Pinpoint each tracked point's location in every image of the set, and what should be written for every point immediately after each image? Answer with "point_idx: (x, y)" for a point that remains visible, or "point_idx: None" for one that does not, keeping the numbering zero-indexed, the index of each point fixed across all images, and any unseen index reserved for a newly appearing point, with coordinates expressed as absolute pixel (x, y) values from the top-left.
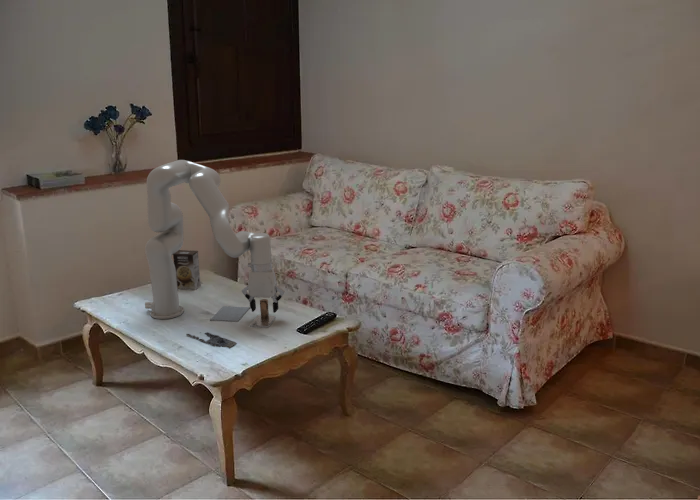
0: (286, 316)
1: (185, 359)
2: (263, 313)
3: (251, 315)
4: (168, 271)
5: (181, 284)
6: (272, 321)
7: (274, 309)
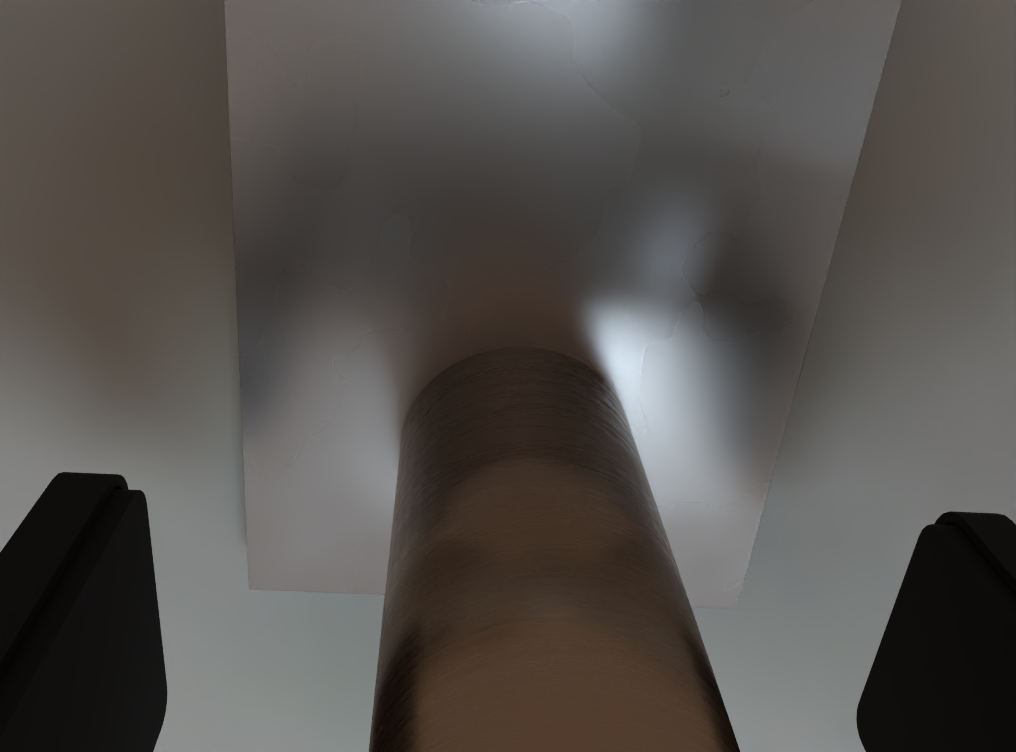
0: None
1: None
2: (539, 445)
3: None
4: None
5: None
6: (246, 282)
7: (17, 553)
